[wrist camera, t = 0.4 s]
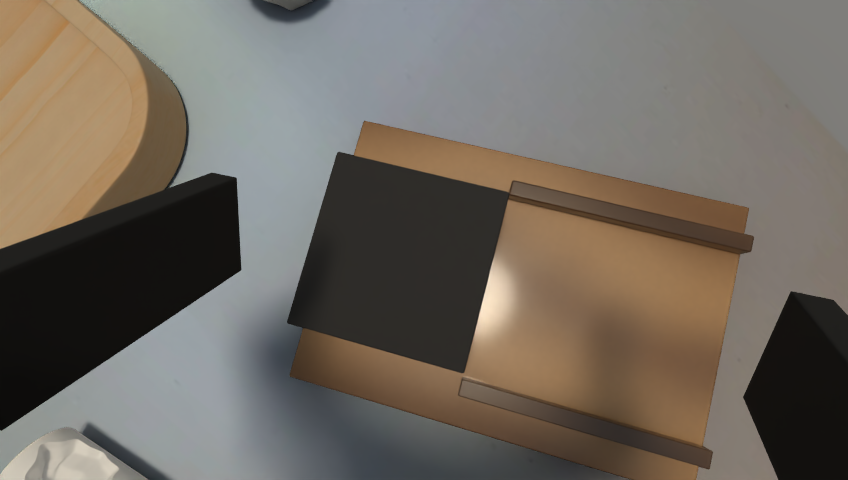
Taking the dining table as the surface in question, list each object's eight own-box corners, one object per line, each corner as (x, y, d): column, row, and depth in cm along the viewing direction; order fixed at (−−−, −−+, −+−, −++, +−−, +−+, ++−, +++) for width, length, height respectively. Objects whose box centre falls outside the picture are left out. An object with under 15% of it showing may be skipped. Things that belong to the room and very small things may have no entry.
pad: (465, 364, 25) (464, 374, 21) (314, 321, 26) (286, 323, 22) (504, 210, 26) (510, 191, 22) (357, 174, 27) (337, 151, 23)
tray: (682, 489, 24) (702, 507, 22) (296, 373, 27) (281, 379, 25) (737, 212, 26) (761, 203, 24) (368, 128, 28) (359, 112, 26)
